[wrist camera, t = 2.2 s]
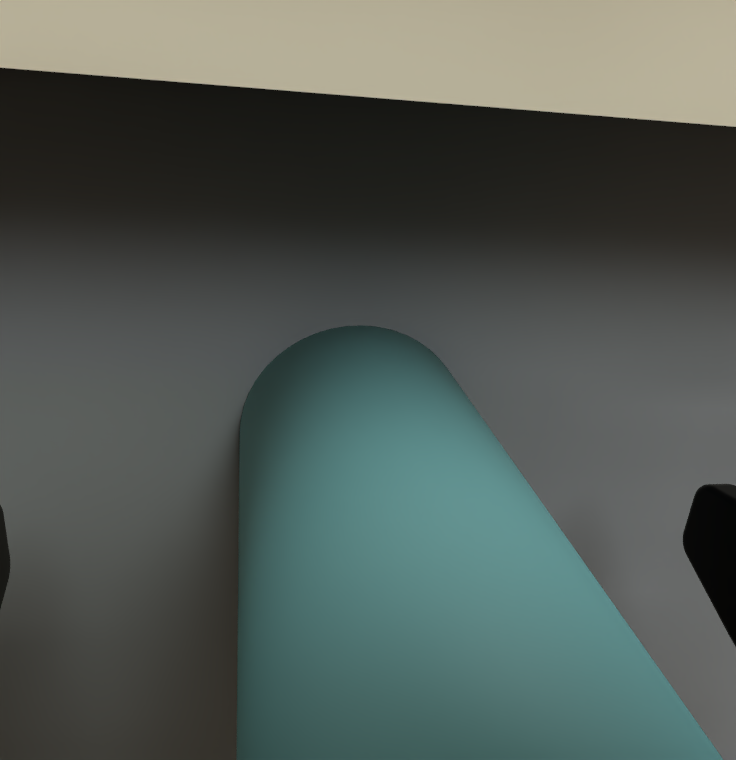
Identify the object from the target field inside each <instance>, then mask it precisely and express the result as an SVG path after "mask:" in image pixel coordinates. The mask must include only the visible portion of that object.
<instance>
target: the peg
mask: <svg viewBox="0 0 736 760" xmlns="http://www.w3.org/2000/svg"><path fill="white" fill-rule="evenodd" d="M237 760H723V759H722V757H721V756H720V754H719V753H718V752H717V750H716V749H715V747H714V746H713V744H712V743H711V742H710V740H709V739H708V737H707V736H706V735H705V733H704V732H703V730H702V729H701V727H700V726H699V725H698V723H697V722H696V720H695V719H694V718H693V716H692V715H691V713H690V712H689V710H688V709H687V708H686V706H685V705H684V703H683V702H682V701H681V699H680V698H679V696H678V695H677V693H676V692H675V691H674V689H673V688H672V686H671V685H670V684H669V682H668V681H667V679H666V678H665V676H664V675H663V674H662V672H661V671H660V669H659V668H658V667H657V665H656V664H655V662H654V661H653V659H652V658H651V657H650V655H649V654H648V652H647V651H646V650H645V648H644V647H643V645H642V644H641V642H640V641H639V640H638V638H637V637H636V635H635V634H634V633H633V631H632V630H631V628H630V627H629V625H628V624H627V623H626V621H625V620H624V618H623V617H622V616H621V614H620V613H619V611H618V610H617V608H616V607H615V606H614V604H613V603H612V601H611V600H610V599H609V597H608V596H607V594H606V593H605V591H604V590H603V589H602V587H601V586H600V584H599V583H598V582H597V580H596V579H595V577H594V576H593V574H592V573H591V572H590V570H589V569H588V567H587V566H586V565H585V563H584V562H583V560H582V559H581V557H580V556H579V555H578V553H577V552H576V550H575V549H574V548H573V546H572V545H571V543H570V542H569V540H568V539H567V538H566V536H565V535H564V533H563V532H562V531H561V529H560V528H559V526H558V525H557V523H556V522H555V521H554V519H553V518H552V516H551V515H550V514H549V512H548V511H547V509H546V508H545V506H544V505H543V504H542V502H541V501H540V499H539V498H538V497H537V495H536V494H535V492H534V491H533V489H532V488H531V487H530V485H529V484H528V482H527V481H526V480H525V478H524V477H523V475H522V474H521V472H520V471H519V470H518V468H517V467H516V465H515V464H514V463H513V461H512V460H511V458H510V457H509V455H508V454H507V453H506V451H505V450H504V448H503V447H502V446H501V444H500V443H499V441H498V440H497V438H496V437H495V436H494V434H493V433H492V431H491V430H490V429H489V427H488V426H487V424H486V423H485V422H484V420H483V419H482V417H481V416H480V414H479V413H478V412H477V410H476V409H475V407H474V406H473V405H472V403H471V402H470V400H469V399H468V397H467V396H466V395H465V393H464V392H463V390H462V389H461V388H460V386H459V385H458V383H457V382H456V380H455V379H454V378H453V376H452V375H451V373H450V372H449V371H448V369H447V368H446V367H445V365H444V364H443V363H442V361H441V360H440V359H439V358H438V357H437V356H436V355H435V354H434V353H433V352H432V351H431V350H430V349H428V348H427V347H425V346H424V345H423V344H421V343H420V342H418V341H416V340H414V339H413V338H411V337H409V336H407V335H404V334H402V333H399V332H396V331H393V330H389V329H385V328H380V327H373V326H345V327H339V328H333V329H329V330H326V331H322V332H319V333H316V334H313V335H311V336H309V337H307V338H304V339H302V340H300V341H299V342H297V343H295V344H294V345H292V346H290V347H288V348H287V349H286V350H285V351H283V352H282V353H281V354H279V355H278V356H277V357H276V358H275V359H274V360H273V361H272V362H271V363H270V364H269V365H268V366H267V367H266V368H265V369H264V370H263V372H262V373H261V374H260V376H259V377H258V378H257V380H256V381H255V383H254V385H253V387H252V388H251V390H250V392H249V394H248V397H247V399H246V402H245V405H244V408H243V412H242V417H241V423H240V453H239V559H238V665H237Z"/></svg>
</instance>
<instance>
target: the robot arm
mask: <svg viewBox="0 0 736 760" xmlns="http://www.w3.org/2000/svg"><path fill="white" fill-rule="evenodd" d="M683 546H684V550H685V552H686V555H687V557H688V558H689V560H690V562H691V564H692V566H693V568H694V570H695V572H696V574H697V575H698V577H699V579H700V581H701V583H702V585H703V587H704V589H705V591H706V593H707V594H708V596H709V598H710V600H711V602H712V604H713V606H714V608H715V610H716V611H717V613H718V615H719V617H720V619H721V621H722V623H723V625H724V627H725V628H726V630H727V632H728V634H729V636H730V638H731V639H732V641H733V643H734V645H735V646H736V486H735V485H731V484H708V485H703V486H702V487H700V488H699V489H698V490H697V492H696V494H695V496H694V499H693V503H692V506H691V509H690V513H689V516H688V519H687V523H686V526H685V529H684V533H683ZM9 573H10V555H9V548H8V541H7V534H6V528H5V521H4V514H3V510H2V507H1V505H0V608H1V605H2V601H3V597H4V594H5V590H6V587H7V583H8V579H9Z"/></svg>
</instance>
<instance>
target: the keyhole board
mask: <svg viewBox="0 0 736 760" xmlns="http://www.w3.org/2000/svg"><path fill="white" fill-rule="evenodd" d="M0 68H12V69H24V70H37V71H49V72H61V73H74V74H86V75H99V76H111V77H124V78H136V79H148V80H161V81H173V82H186V83H198V84H211V85H223V86H235V87H248V88H260V89H273V90H285V91H297V92H310V93H322V94H335V95H347V96H360V97H372V98H384V99H397V100H409V101H422V102H434V103H446V104H459V105H471V106H484V107H496V108H509V109H521V110H533V111H546V112H558V113H571V114H583V115H596V116H608V117H620V118H633V119H645V120H658V121H670V122H682V123H695V124H707V125H720V126H732V127H736V0H0Z"/></svg>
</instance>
